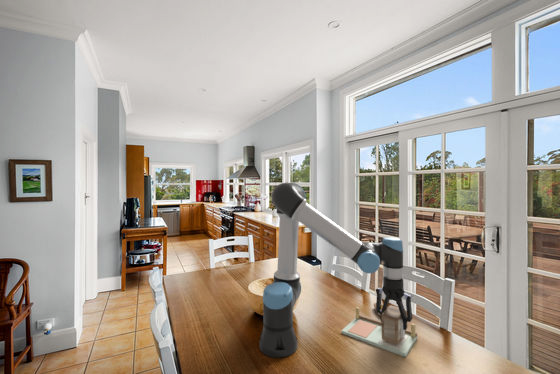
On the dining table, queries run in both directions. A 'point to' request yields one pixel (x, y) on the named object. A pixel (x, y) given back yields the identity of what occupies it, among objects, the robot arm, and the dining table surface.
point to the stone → (375, 307)
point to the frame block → (391, 325)
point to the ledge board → (378, 334)
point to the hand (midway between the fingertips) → (393, 333)
